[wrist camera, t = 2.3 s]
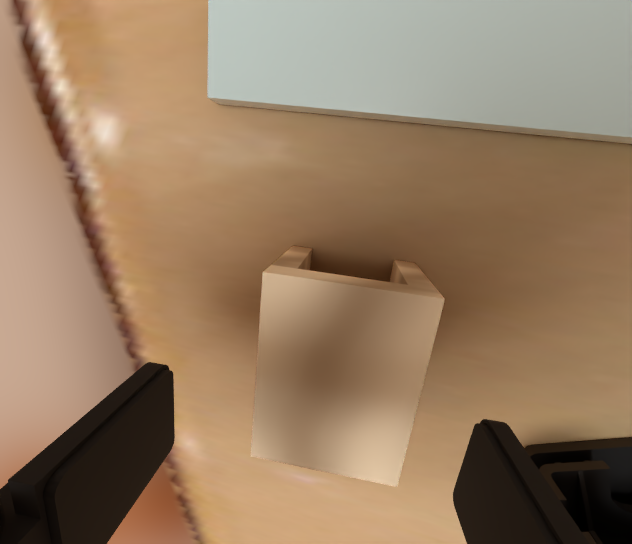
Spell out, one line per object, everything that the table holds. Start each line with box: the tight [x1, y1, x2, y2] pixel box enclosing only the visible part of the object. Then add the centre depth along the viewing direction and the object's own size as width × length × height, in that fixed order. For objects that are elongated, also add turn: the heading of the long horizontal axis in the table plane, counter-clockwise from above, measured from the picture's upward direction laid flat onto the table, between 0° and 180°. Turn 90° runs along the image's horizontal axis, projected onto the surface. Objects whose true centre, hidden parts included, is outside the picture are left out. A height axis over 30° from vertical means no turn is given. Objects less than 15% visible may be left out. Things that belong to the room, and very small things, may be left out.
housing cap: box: [251, 246, 445, 487], centre depth 13 cm, size 6×8×5 cm
